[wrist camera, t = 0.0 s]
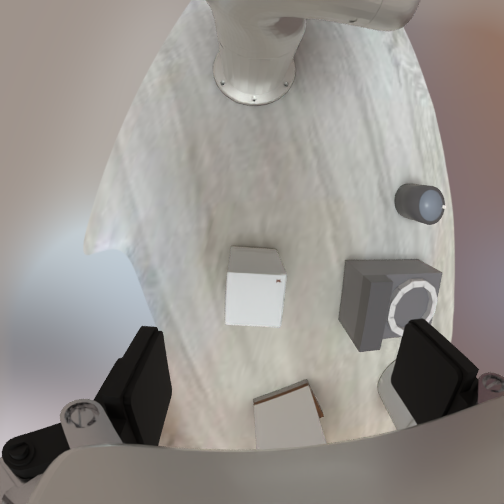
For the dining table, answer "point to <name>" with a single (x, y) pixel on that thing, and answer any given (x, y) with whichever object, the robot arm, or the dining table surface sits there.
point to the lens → (420, 203)
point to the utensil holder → (394, 401)
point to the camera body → (386, 298)
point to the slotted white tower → (288, 418)
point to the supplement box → (255, 287)
